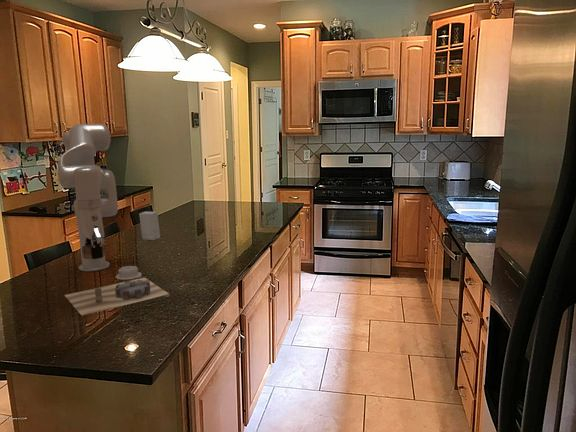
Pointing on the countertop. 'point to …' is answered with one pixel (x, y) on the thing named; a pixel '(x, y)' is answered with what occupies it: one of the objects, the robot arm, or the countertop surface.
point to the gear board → (114, 296)
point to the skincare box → (149, 225)
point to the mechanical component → (128, 273)
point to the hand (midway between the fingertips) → (94, 255)
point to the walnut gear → (90, 251)
